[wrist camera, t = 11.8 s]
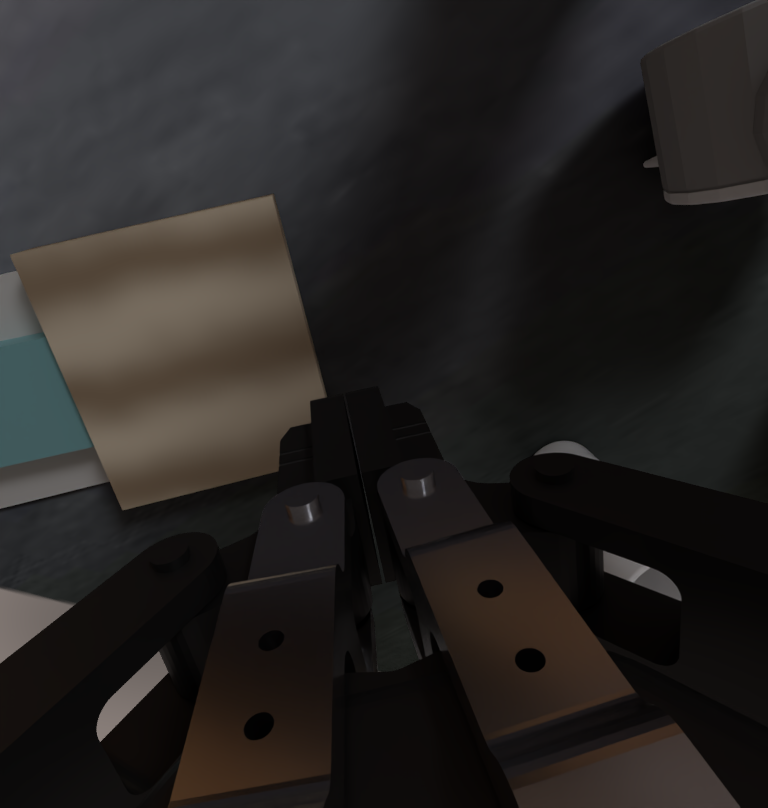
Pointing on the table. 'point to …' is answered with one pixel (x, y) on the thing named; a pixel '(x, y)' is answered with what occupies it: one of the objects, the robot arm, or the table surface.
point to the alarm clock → (711, 108)
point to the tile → (36, 404)
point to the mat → (11, 318)
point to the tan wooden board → (180, 345)
